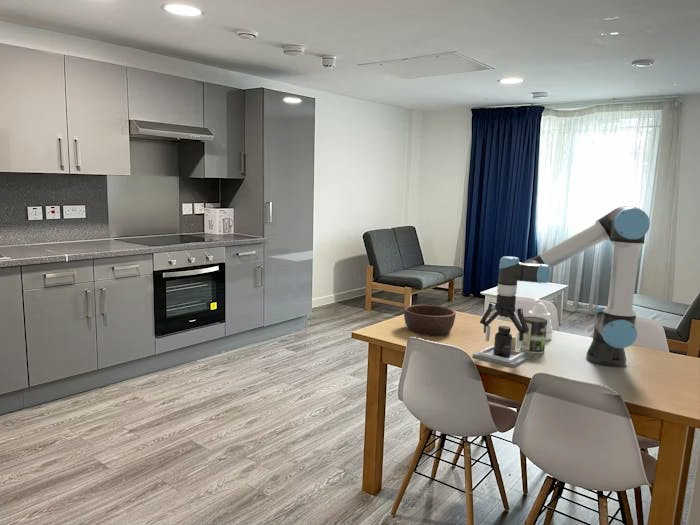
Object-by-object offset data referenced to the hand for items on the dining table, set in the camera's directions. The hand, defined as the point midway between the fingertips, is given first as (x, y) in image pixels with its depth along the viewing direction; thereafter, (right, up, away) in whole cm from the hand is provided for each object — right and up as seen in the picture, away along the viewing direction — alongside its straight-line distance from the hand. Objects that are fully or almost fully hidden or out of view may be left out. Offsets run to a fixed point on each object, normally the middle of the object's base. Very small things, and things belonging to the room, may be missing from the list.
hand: (502, 344), depth 220 cm
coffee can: (+17, -5, +14) cm, 22 cm away
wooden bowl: (-25, +1, +39) cm, 47 cm away
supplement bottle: (0, -5, +1) cm, 5 cm away
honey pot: (+28, -2, +37) cm, 46 cm away
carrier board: (+1, -5, +2) cm, 6 cm away
